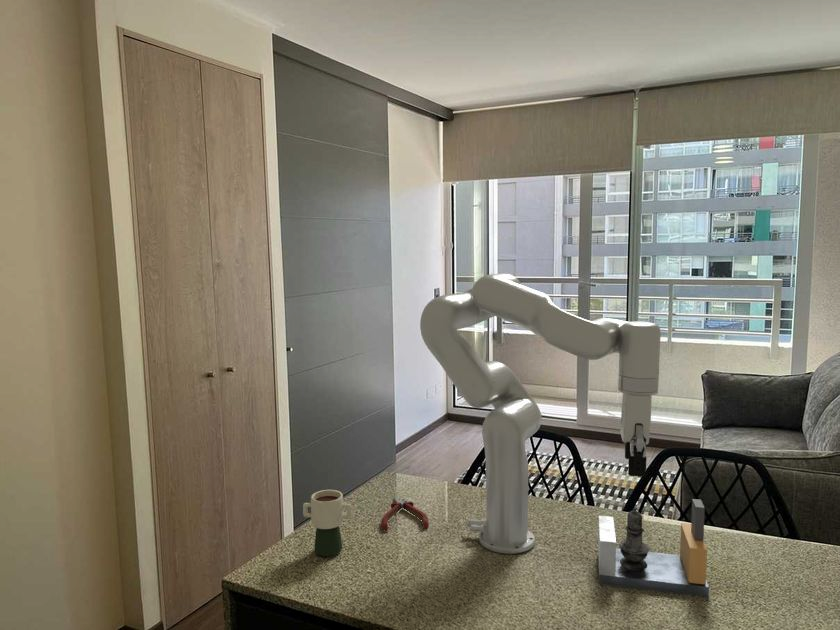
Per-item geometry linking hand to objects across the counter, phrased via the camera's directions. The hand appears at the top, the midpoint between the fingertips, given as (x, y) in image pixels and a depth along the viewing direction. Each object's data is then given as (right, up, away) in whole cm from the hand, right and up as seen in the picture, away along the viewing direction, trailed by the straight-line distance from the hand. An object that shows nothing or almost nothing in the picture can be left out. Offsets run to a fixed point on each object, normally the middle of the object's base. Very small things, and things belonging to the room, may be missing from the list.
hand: (634, 467), depth 124 cm
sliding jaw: (+11, -20, -1) cm, 23 cm away
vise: (+4, -22, +1) cm, 23 cm away
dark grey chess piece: (+1, -21, +2) cm, 21 cm away
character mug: (-64, -22, +13) cm, 69 cm away
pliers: (-46, -21, +32) cm, 60 cm away
